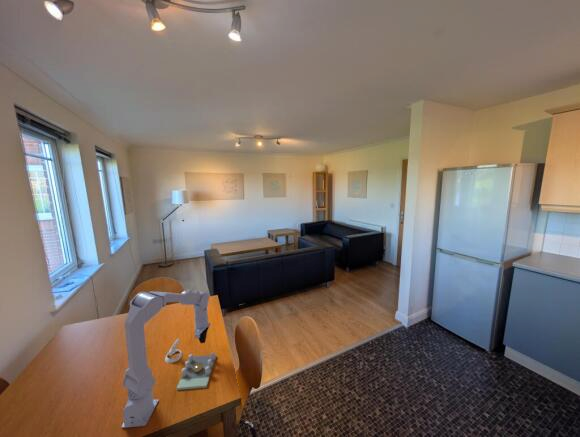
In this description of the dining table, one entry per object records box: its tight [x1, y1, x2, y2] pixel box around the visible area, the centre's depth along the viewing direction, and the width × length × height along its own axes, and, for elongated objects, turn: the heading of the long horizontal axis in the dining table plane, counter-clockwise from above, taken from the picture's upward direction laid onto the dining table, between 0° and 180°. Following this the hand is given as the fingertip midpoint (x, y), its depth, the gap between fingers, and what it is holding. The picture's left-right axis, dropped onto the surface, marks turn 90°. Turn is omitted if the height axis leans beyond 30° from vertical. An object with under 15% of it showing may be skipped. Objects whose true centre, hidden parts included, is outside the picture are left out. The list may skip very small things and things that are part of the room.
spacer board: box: [176, 352, 217, 391], centre depth 99 cm, size 17×12×4 cm
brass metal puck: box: [193, 363, 203, 374], centre depth 99 cm, size 4×4×2 cm
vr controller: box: [164, 338, 183, 364], centre depth 108 cm, size 8×12×7 cm
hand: (202, 342), depth 107 cm, fingers closed
